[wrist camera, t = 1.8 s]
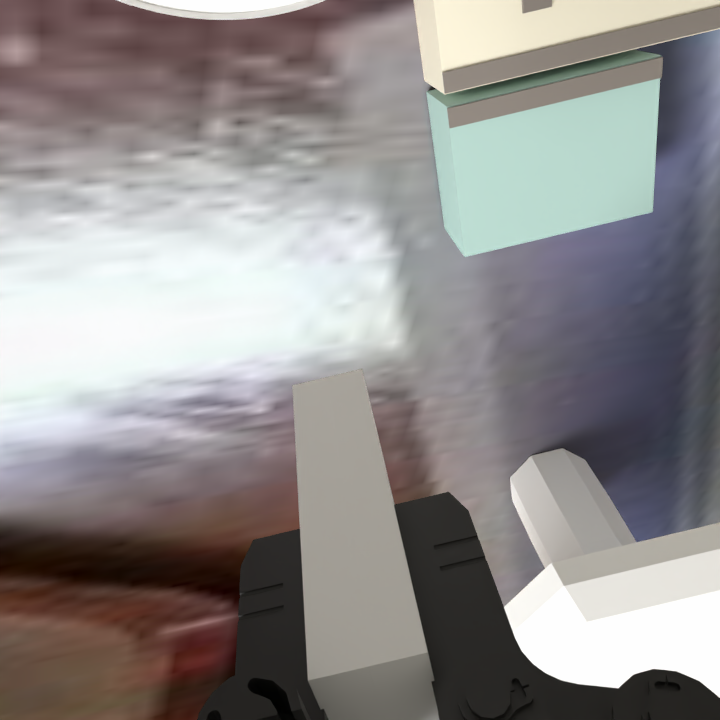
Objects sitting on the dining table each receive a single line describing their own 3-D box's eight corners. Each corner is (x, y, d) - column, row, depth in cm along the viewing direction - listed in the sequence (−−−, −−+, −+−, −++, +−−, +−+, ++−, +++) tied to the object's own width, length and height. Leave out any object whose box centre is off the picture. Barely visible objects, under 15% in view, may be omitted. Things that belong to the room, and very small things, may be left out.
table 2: (290, 623, 42) (300, 945, 28) (371, 231, 29) (472, 481, 15) (652, 628, 48) (811, 898, 34) (867, 303, 34) (1285, 532, 20)
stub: (444, 228, 29) (465, 258, 26) (426, 91, 26) (447, 107, 23) (613, 187, 29) (654, 212, 26) (616, 46, 26) (663, 55, 23)
